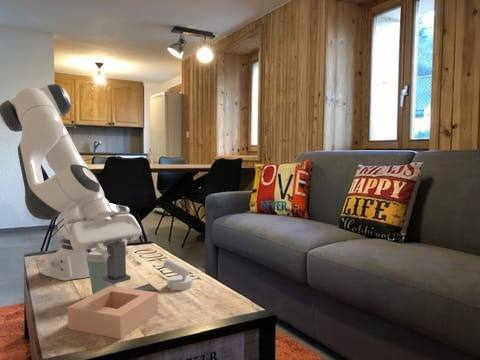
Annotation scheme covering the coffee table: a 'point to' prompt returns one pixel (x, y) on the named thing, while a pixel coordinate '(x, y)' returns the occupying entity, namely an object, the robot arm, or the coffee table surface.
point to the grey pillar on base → (116, 264)
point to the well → (113, 311)
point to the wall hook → (178, 276)
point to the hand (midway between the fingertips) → (117, 255)
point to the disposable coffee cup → (97, 271)
